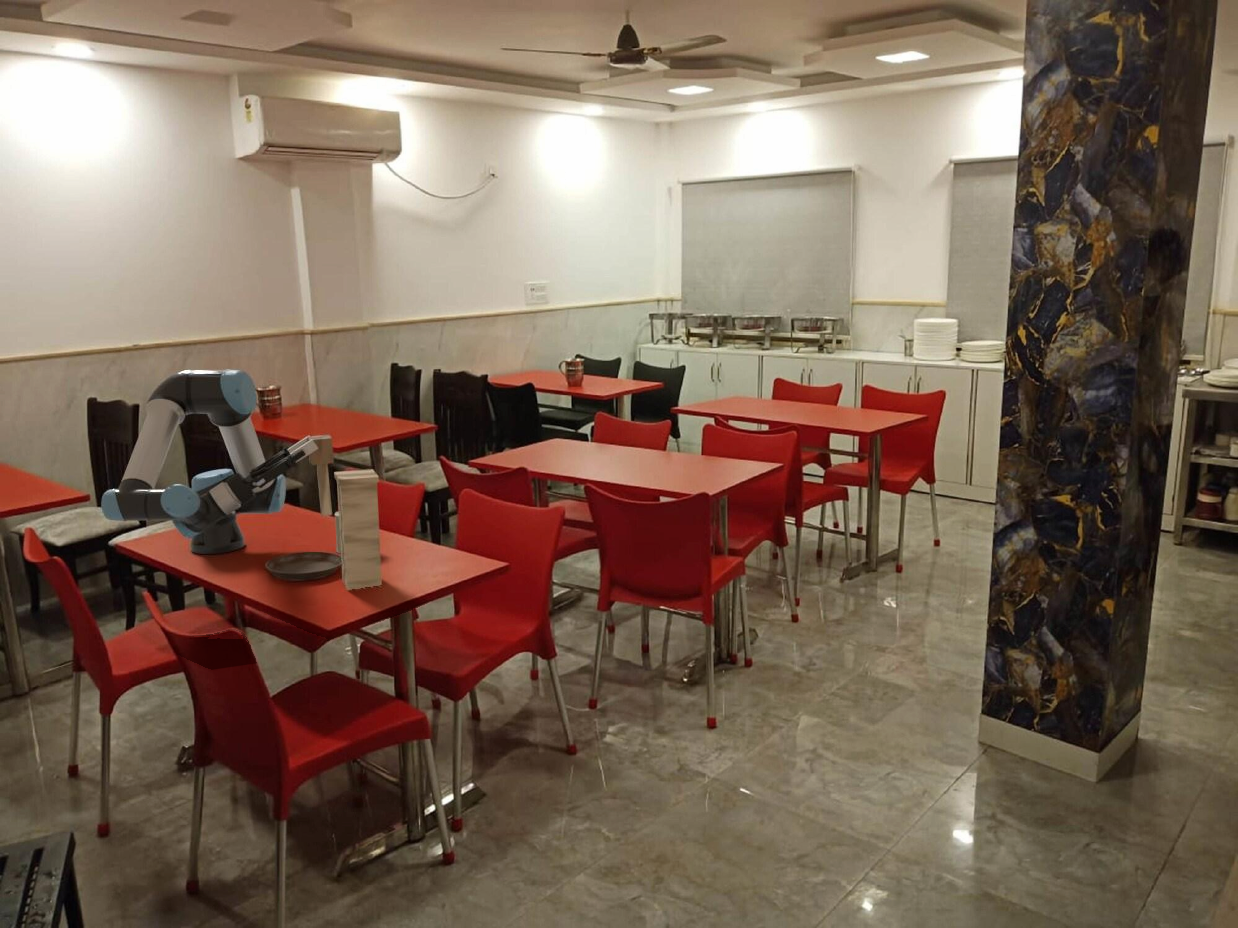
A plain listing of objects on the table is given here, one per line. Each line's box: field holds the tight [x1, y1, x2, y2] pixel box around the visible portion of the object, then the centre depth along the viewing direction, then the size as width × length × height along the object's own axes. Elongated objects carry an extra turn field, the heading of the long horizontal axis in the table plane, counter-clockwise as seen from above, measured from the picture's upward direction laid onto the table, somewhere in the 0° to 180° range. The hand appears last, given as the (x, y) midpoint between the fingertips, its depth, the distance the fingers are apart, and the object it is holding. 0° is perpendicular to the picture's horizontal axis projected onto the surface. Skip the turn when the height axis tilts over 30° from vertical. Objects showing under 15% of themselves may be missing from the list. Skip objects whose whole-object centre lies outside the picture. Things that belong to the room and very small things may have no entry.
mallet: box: [306, 434, 335, 517], centre depth 255 cm, size 6×20×6 cm
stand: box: [333, 468, 383, 591], centre depth 262 cm, size 10×10×30 cm
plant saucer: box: [265, 551, 342, 582], centre depth 274 cm, size 21×21×3 cm
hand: (313, 441), depth 253 cm, fingers closed on mallet, 5 cm apart
